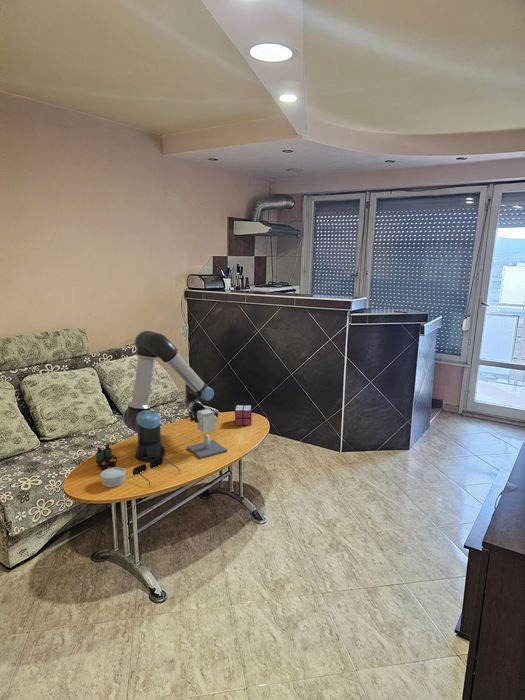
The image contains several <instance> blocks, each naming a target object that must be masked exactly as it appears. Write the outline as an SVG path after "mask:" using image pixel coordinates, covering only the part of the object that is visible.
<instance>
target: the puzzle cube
mask: <svg viewBox="0 0 525 700" xmlns="http://www.w3.org/2000/svg"><path fill="white" fill-rule="evenodd" d="M252 407H253V406H252V405H236V406H235V409H234V425H235V426H236V425H251V426H252V419H253V415H252V412H253V411H252V410H253V409H252Z"/></svg>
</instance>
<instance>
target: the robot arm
mask: <svg viewBox="0 0 525 700" xmlns="http://www.w3.org/2000/svg"><path fill="white" fill-rule="evenodd" d="M134 347H135V348H136V351H135V352H136V353H135V356H136V357H137V358H138V360H137V365H136V366H137V367H136V373H135V378H134V385H133V392H132V397H131V401H130V402H129V403H128V405H127V408H126V409H125V410H124V412H123V414H122V422H123V423H124V425H125V426H126V427H127V428H128V429H130V430H132V431H134V432H135V433H137V447H136V449H135V460H136V461H138V462H142V463H151V461H154V460H156V459H157V458H160V457H163V458H164V457H166V450H165V447H164V444H163V442H162V430H161V428H162V427H161V416H160V414H159V413H158V412H157V411H155V410H151V405H149V399H150V392H151V386H152V382H153V381H152V380H153V373H154V367H155V361H156V360H157V359H160V360H161V361H162V362H163V363H167V365H169V366H170V367H171V369H172V370H173V371H174V372H175V373H176V374H177V375H178V376H179V377H180V378H181V379H182V381H183V382H184V385H185V387H184V389H185V398H184V402H183V403H184V406H185V407H186V409H187V410H188V412H187V413H188V414H187V415H188V417H189V420H190V422H192V423H197V424H198V423H199V425H200V426H202V420H201V419H200V418H199V417H197V411H201V410H206V409H207V408H205V406H204V405H203V404H202V402H200V400H203V401H211V400H212V399H213V398H214V395H215V392H214V390H213V388H212V387H210V386H208V385H207V384H206V383H205V382H204V381H203V380H202V379H201V377H200V376H198V374H197V373H196V372H195V370H193V368H192V367H191V366H190V365H189V364H188V362H186V361H185V359H184V358H183V357H182V356H181V355H180V354H179V350H178V348H177V347H176V346H175V344H173V343H172V342H171V340H170V339H168V337H167V336H166V335H164V334H162V333H160V332H156V331H155V332H154V331H151V330H142V331H140V332H139V333H137V334H136V336H135V338H134ZM209 409H210V410H212V411H213V412H215V424H218V418H219V413H218V412H217V411H215V410H213V408H209Z"/></svg>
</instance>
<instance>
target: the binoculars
mask: <svg viewBox="0 0 525 700" xmlns="http://www.w3.org/2000/svg"><path fill="white" fill-rule="evenodd" d="M110 446H111V445H110V444H109V443H107V444H105V446H104V447H105V448H102V447H97V451H96V452H95V453H96V455H95V464H96V468H100V470H101V471H104V470H106V469H109V468H114V466H115V467H117V466H116V465H117V464H116V463H117V461H118V458H117V456H114V455H113V453H112V452H113V451H112V448H111V447H110ZM112 460H113V461H112Z"/></svg>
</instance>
